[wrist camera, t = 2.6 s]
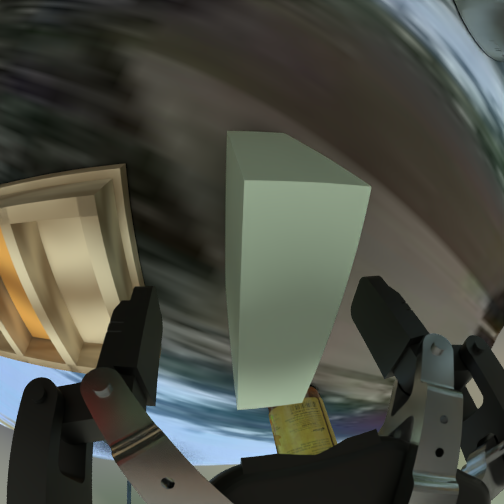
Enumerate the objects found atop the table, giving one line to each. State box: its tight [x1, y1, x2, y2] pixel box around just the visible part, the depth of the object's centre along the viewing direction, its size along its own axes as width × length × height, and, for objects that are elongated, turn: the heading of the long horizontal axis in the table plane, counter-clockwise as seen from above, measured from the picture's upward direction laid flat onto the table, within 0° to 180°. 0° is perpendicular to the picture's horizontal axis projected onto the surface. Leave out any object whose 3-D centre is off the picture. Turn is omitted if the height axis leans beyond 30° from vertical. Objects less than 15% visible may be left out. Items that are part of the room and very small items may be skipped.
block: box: [225, 131, 371, 410], centre depth 12 cm, size 10×3×9 cm, turn 177°
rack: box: [0, 163, 161, 374], centre depth 14 cm, size 15×20×4 cm
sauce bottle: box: [268, 386, 337, 455], centre depth 20 cm, size 6×6×20 cm
